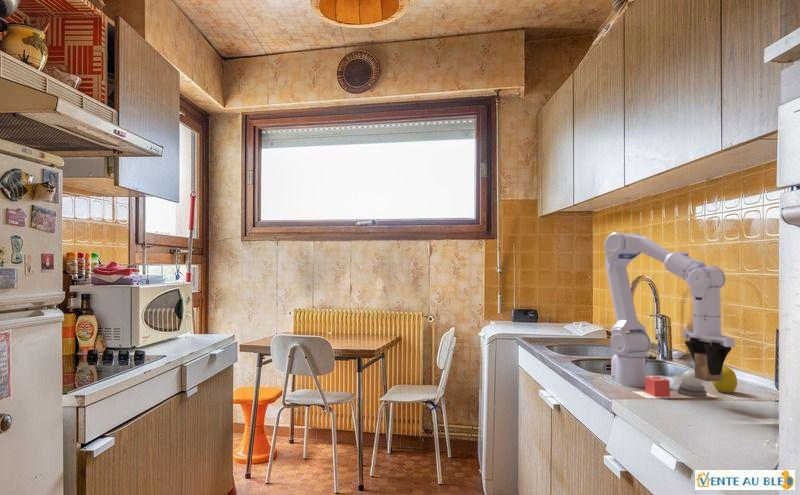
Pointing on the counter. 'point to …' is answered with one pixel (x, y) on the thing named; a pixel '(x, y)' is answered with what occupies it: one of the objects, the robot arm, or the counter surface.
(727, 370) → the lemon
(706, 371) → the brown block
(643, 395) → the game board
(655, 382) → the die
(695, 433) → the counter surface
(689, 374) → the dome
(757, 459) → the counter surface
